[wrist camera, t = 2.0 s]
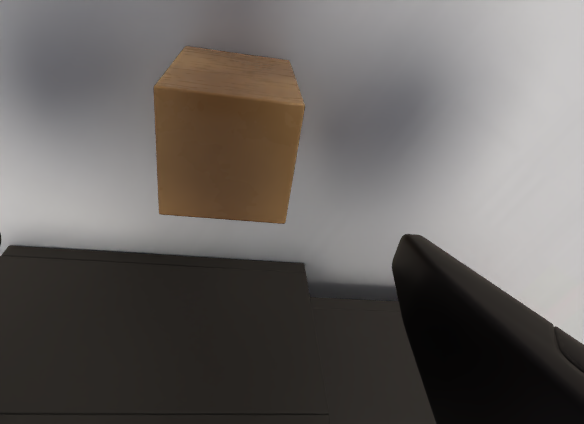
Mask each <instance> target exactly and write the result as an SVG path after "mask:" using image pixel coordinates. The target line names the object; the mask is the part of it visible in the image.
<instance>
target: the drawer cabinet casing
mask: <svg viewBox="0 0 584 424" xmlns="http://www.w3.org/2000/svg"><path fill="white" fill-rule="evenodd" d="M0 424H331V422H330V416H329V410H328V404H327V398H326V392H325V386H324V379H323V373H322V367H321V361H320V355H319V349H318V343H317V337H316V331H315V325H314V319H313V313H312V307H311V301H310V295H309V289H308V282H307V276H306V271H305V265H304V264H303V263H288V262H271V261H255V260H238V259H222V258H205V257H189V256H172V255H156V254H139V253H123V252H106V251H90V250H73V249H57V248H40V247H24V246H9V247H8V248H7V249H6V250H5V251H4V252H3V254H2V255H1V256H0Z"/></svg>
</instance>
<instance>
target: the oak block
mask: <svg viewBox="0 0 584 424" xmlns="http://www.w3.org/2000/svg"><path fill="white" fill-rule="evenodd" d="M153 89H154V112H155V135H156V158H157V180H158V203H159V214H162V215H175V216H189V217H202V218H215V219H228V220H241V221H255V222H268V223H281V224H284V223H285V222H286V216H287V210H288V204H289V198H290V192H291V186H292V180H293V174H294V169H295V163H296V157H297V151H298V145H299V139H300V133H301V127H302V121H303V115H304V110H305V104H304V101H303V98H302V96H301V93H300V90H299V87H298V84H297V81H296V78H295V75H294V72H293V70H292V67H291V64H290V61H289V60H283V59H275V58H268V57H261V56H254V55H247V54H240V53H233V52H225V51H218V50H211V49H204V48H197V47H190V46H185V47H184V48H183V50H182V51H181V52H180V54H179V55H178V56H177V57H176V59H175V60H174V61H173V63H172V64H171V65H170V66H169V68H168V69H167V70H166V72H165V73H164V74H163V75H162V77H161V78H160V79H159V80H158V82H157V83H156V84H155V86H154V88H153Z"/></svg>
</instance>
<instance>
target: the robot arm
mask: <svg viewBox="0 0 584 424" xmlns="http://www.w3.org/2000/svg"><path fill="white" fill-rule="evenodd" d="M0 245H1V234H0ZM392 271H393V276H394V281H395V286H396V291H397V296H398V300H399V305H400V310H401V315H402V319H403V323H404V327H405V330H406V334H407V337H408V340H409V343H410V346H411V349H412V352H413V355H414V358H415V361H416V364H417V367H418V370H419V373H420V376H421V379H422V382H423V385H424V388H425V391H426V394H427V397H428V400H429V403H430V406H431V409H432V412H433V416H434V419H435V422H436V424H584V345H583V344H582V343H580V342H579V341H577V340H576V339H574V338H573V337H571V336H570V335H568V334H567V333H565V332H564V331H562V330H561V329H559V328H558V327H554V326H553V324H552V323H550V322H549V321H547V320H546V319H544V318H543V317H541V316H540V315H538V314H537V313H536V312H534V311H533V310H531V309H530V308H528V307H527V306H525V305H524V304H522V303H521V302H519V301H518V300H516V299H515V298H513V297H512V296H510V295H509V294H507V293H506V292H504V291H503V290H501V289H500V288H498V287H497V286H495V285H494V284H492V283H491V282H489V281H488V280H486V279H485V278H484V277H482V276H481V275H479V274H478V273H476V272H475V271H473V270H472V269H470V268H469V267H467V266H466V265H464V264H463V263H461V262H460V261H458V260H457V259H455V258H454V257H452V256H451V255H449V254H448V253H446V252H445V251H443V250H442V249H440V248H439V247H437V246H436V245H435V244H433V243H432V242H430V241H429V240H427V239H426V238H424V237H423V236H421V235H412V234H405V235H403V236H402V238H401V239H400V242H399V245H398V247H397V250H396V253H395V255H394V258H393V262H392Z"/></svg>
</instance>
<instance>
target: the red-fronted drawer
mask: <svg viewBox="0 0 584 424" xmlns="http://www.w3.org/2000/svg"><path fill="white" fill-rule="evenodd" d="M310 301H311V307H312V313H313V319H314V325H315V331H316V337H317V343H318V349H319V355H320V361H321V367H322V373H323V379H324V386H325V392H326V398H327V404H328V410H329V416H330V422H331V424H436V422H435V419H434V416H433V412H432V409H431V406H430V403H429V400H428V397H427V394H426V391H425V388H424V385H423V382H422V379H421V376H420V373H419V370H418V367H417V364H416V361H415V358H414V355H413V352H412V349H411V346H410V343H409V340H408V337H407V334H406V330H405V327H404V323H403V319H402V315H401V310H400V305H399V301H380V300H358V299H337V298H316V297H310Z"/></svg>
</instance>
